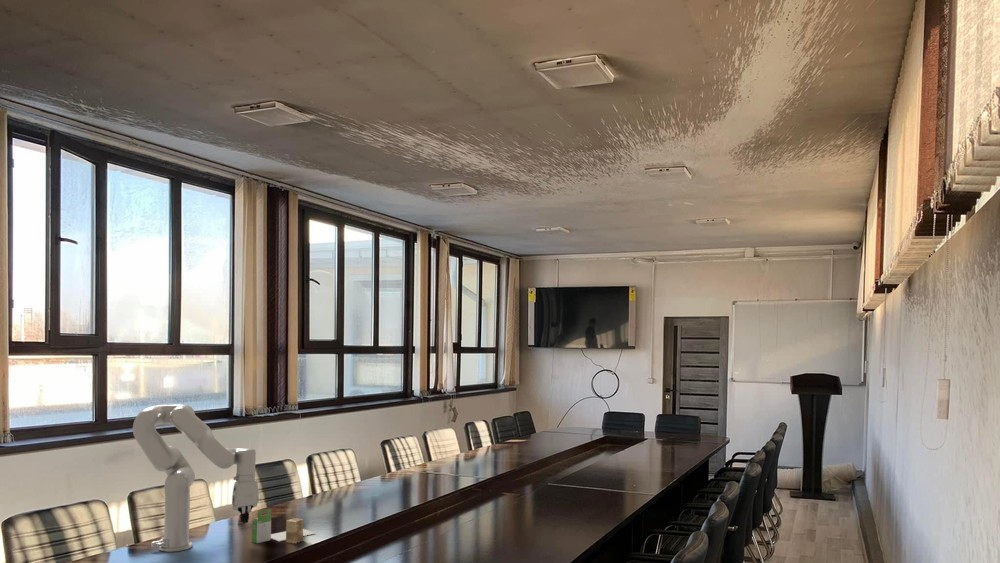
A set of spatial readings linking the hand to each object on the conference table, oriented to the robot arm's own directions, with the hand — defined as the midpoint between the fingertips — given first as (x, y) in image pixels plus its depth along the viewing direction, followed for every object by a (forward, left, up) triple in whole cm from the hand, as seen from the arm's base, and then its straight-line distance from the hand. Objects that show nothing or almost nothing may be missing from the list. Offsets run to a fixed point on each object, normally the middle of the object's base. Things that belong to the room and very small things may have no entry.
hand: (244, 522), depth 314 cm
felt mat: (+22, 0, -9) cm, 24 cm away
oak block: (+18, -10, -9) cm, 23 cm away
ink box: (+8, 0, -10) cm, 12 cm away
